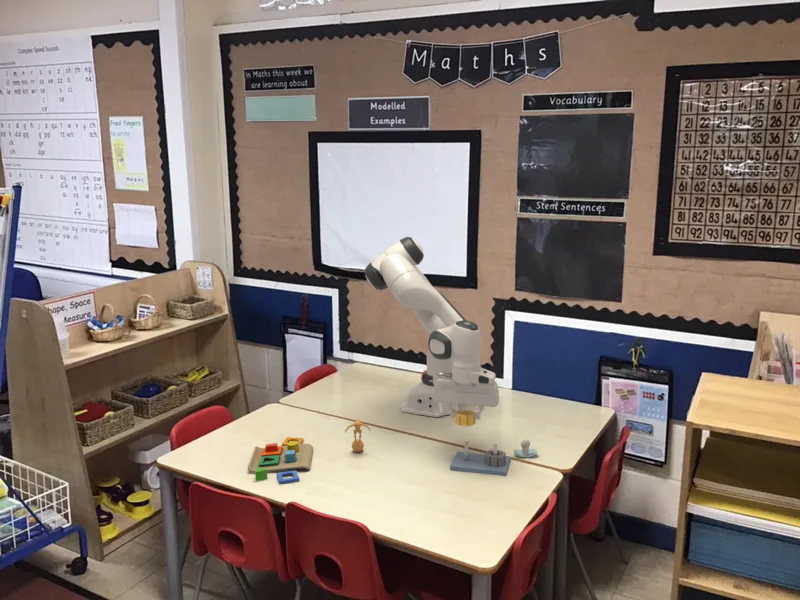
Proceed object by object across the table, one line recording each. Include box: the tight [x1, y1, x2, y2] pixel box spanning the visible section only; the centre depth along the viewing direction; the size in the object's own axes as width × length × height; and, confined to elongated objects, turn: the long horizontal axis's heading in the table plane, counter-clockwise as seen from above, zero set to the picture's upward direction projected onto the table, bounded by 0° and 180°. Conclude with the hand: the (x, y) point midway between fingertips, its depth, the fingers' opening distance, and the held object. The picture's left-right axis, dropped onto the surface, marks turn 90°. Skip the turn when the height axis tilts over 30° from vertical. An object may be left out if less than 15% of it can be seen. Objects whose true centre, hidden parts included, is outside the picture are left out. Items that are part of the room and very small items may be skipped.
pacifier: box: [513, 438, 538, 458], centre depth 226 cm, size 7×6×6 cm
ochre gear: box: [454, 409, 477, 427], centre depth 218 cm, size 6×6×3 cm
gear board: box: [449, 440, 511, 477], centre depth 219 cm, size 17×12×7 cm
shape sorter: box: [247, 436, 314, 485], centre depth 223 cm, size 34×19×5 cm, turn 3°
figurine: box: [344, 418, 371, 453], centre depth 228 cm, size 8×6×12 cm
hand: (465, 417), depth 218 cm, fingers closed on ochre gear, 6 cm apart
